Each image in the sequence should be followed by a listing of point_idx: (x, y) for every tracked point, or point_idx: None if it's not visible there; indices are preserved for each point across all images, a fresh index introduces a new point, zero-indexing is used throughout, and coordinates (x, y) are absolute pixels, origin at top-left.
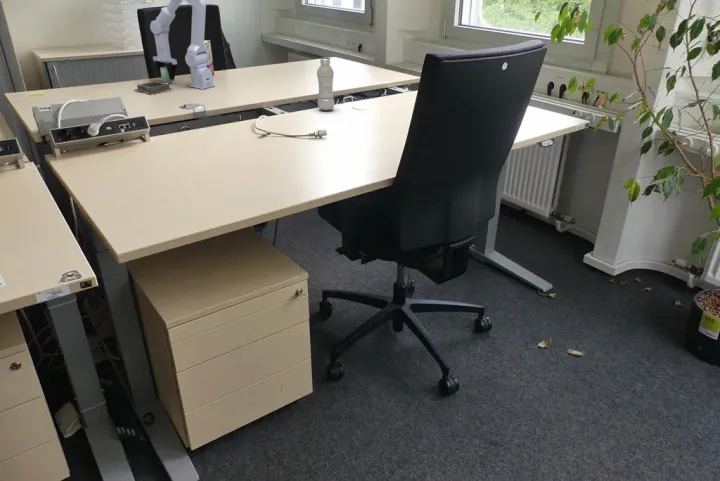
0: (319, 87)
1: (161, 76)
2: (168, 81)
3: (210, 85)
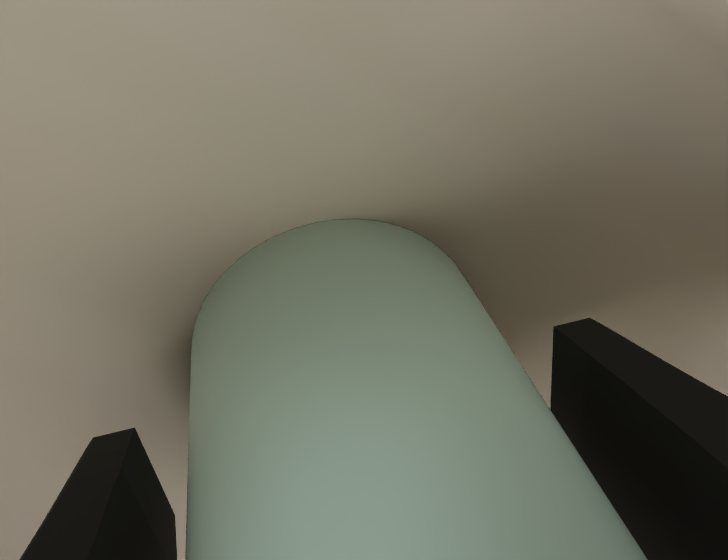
0: None
1: (464, 334)
2: (198, 353)
3: None
